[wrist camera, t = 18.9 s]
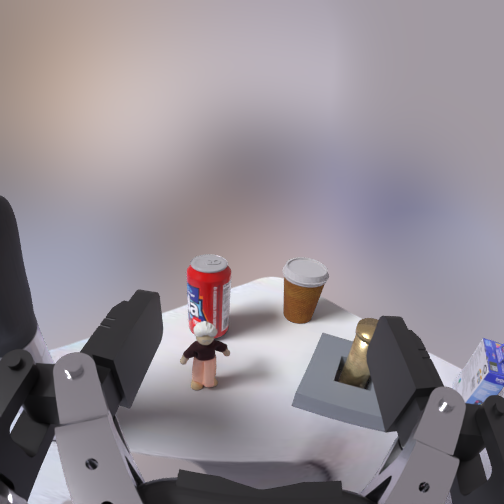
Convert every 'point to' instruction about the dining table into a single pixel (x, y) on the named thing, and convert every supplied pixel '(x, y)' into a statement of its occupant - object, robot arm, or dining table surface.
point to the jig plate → (336, 388)
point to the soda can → (209, 292)
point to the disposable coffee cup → (302, 288)
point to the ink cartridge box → (482, 373)
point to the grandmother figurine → (204, 355)
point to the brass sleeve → (359, 355)
